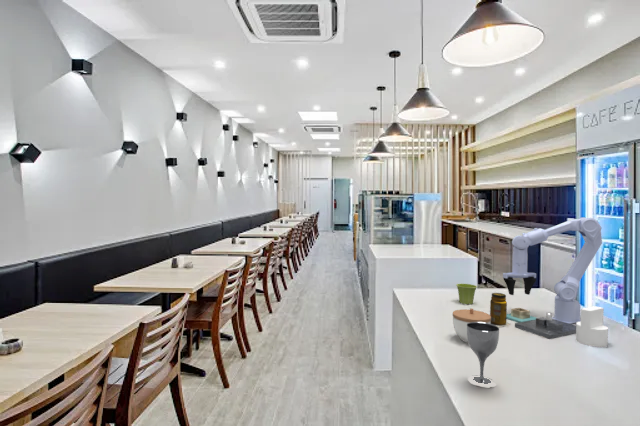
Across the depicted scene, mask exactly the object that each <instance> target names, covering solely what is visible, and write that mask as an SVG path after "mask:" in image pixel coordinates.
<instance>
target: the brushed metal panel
mask: <svg viewBox="0 0 640 426" xmlns="http://www.w3.org/2000/svg"><path fill="white" fill-rule="evenodd" d="M545 314H546V315H545V317H544V316H540V317H536V320H532V321H526V322H520V323H518V322H514V328H516V329H520V330H522V331H525V332H527V333H531V334H532V335H533V334H534V335H537V336H538V337H539V336H540V337H542V338H546V339H549V340H550V339H551V340H552V339H555V338H561V337H566V336H572V335H576V325H575V324H573V323H572V324H569V323H565V322H562V321H558V320H555V319H552V317H553V313H552V312H546V313H545Z"/></svg>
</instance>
